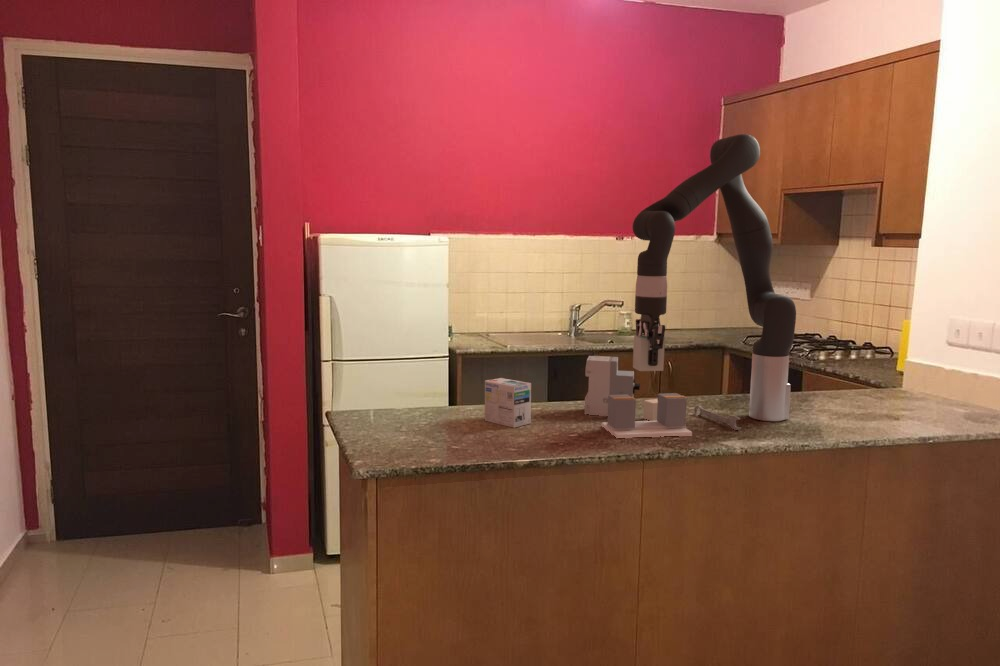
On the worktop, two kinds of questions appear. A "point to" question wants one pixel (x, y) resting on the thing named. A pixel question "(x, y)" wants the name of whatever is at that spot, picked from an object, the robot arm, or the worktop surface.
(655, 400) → the beige block
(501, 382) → the light bulb box
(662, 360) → the block
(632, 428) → the rail board
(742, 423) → the worktop surface
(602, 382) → the circuit breaker
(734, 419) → the combination wrench
